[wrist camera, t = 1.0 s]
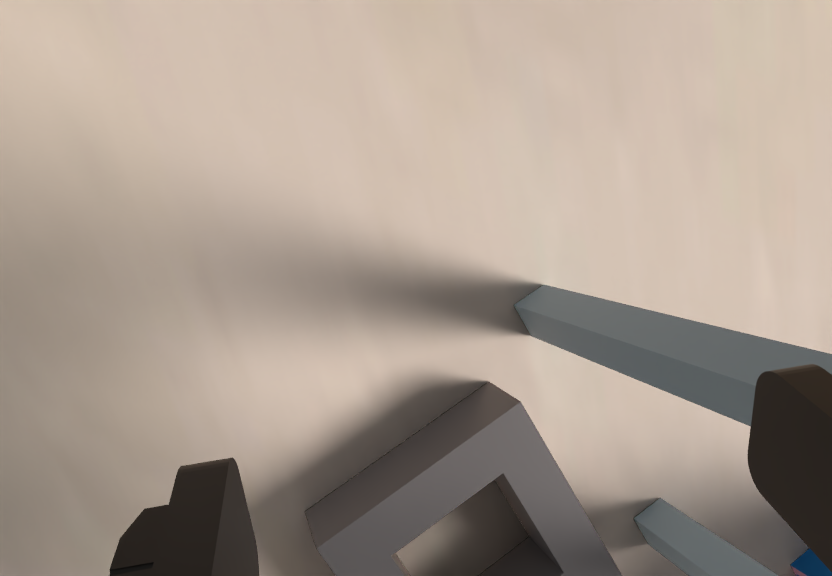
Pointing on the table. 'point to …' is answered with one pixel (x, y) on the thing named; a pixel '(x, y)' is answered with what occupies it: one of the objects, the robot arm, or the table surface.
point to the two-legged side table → (670, 391)
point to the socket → (461, 496)
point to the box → (810, 565)
